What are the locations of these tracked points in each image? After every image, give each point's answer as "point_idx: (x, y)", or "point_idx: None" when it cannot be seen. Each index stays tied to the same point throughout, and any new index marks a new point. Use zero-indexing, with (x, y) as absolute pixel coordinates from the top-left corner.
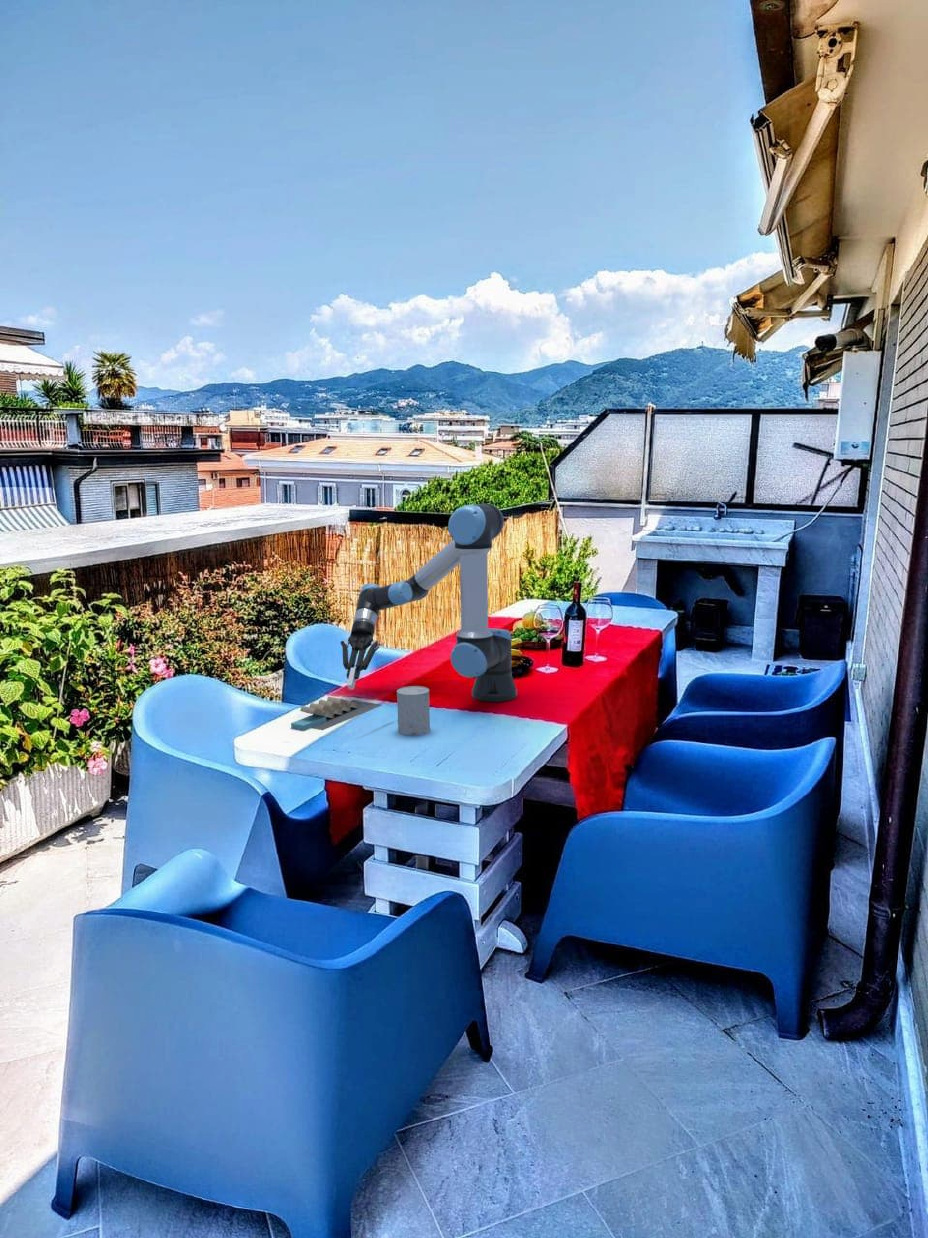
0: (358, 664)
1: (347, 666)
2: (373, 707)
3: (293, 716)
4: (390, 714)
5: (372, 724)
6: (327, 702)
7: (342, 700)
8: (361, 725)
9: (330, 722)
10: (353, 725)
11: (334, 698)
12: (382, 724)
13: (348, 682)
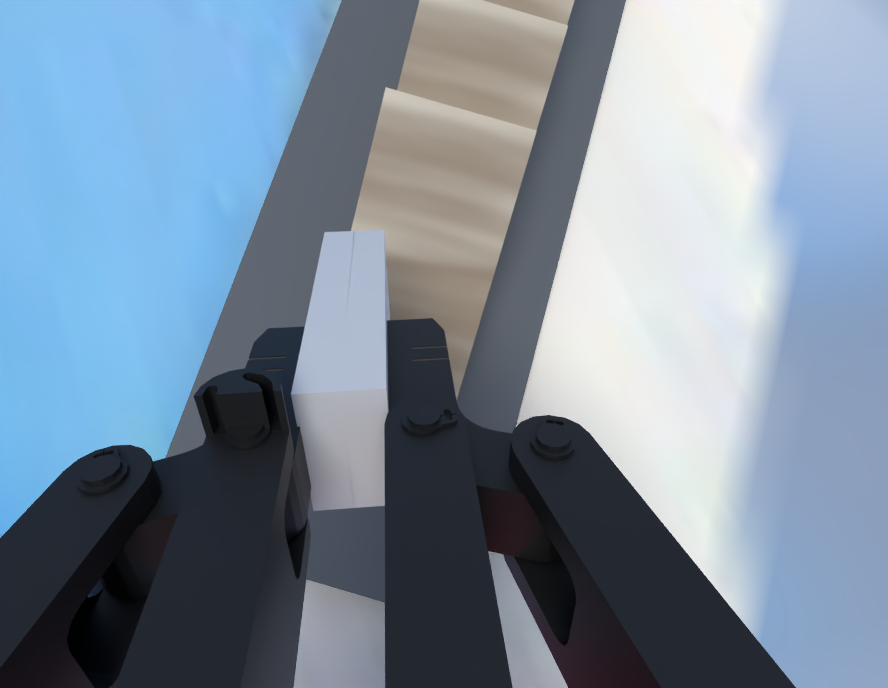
0: (225, 465)
1: (486, 445)
2: (201, 425)
3: (750, 181)
4: (39, 352)
5: (121, 101)
6: (470, 2)
7: (378, 126)
8: (194, 71)
9: (403, 17)
10: (251, 63)
11: (456, 109)
12: (46, 111)
13: (372, 247)
